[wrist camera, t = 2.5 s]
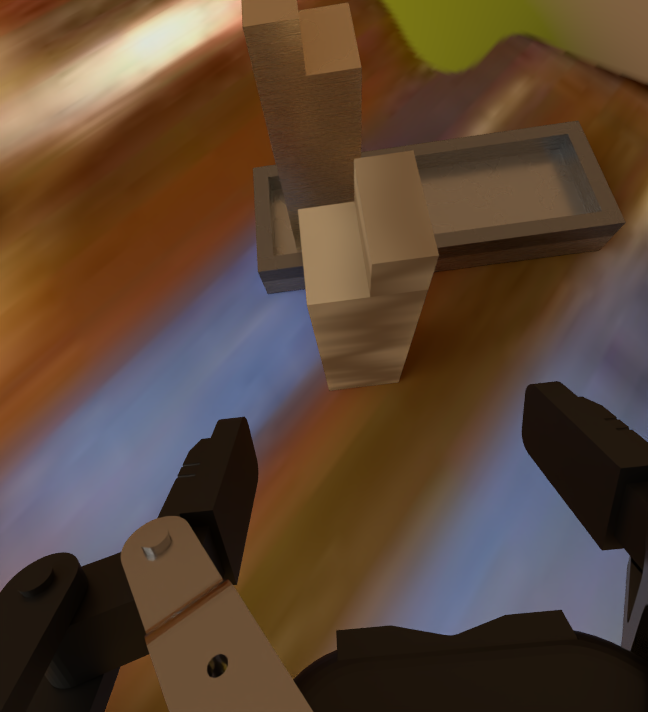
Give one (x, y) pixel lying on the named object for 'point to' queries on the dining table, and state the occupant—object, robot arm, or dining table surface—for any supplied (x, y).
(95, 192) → the dining table surface
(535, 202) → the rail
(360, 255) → the maple finger
